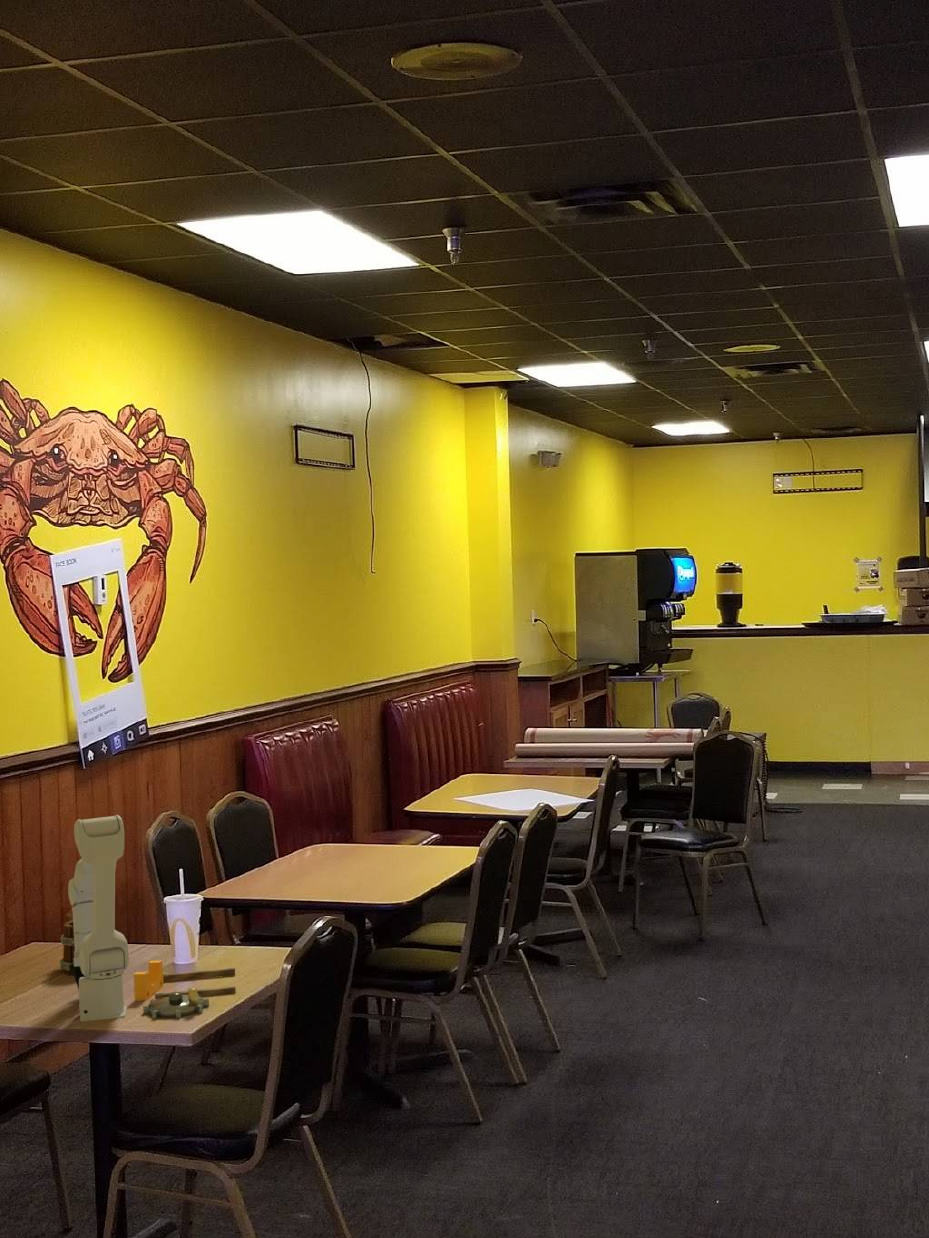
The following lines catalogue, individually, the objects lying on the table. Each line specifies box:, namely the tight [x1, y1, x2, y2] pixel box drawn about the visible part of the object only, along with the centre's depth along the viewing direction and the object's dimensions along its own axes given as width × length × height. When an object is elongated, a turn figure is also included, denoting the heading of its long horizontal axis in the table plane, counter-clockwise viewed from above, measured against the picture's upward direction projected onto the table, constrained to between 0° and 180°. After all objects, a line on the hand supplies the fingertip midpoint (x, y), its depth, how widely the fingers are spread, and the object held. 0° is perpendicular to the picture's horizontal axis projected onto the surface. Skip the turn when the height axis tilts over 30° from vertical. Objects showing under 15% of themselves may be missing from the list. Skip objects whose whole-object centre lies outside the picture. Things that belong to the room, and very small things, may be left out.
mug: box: [59, 912, 75, 976], centre depth 360 cm, size 12×14×15 cm
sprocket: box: [142, 987, 210, 1020], centre depth 318 cm, size 14×14×5 cm
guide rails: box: [154, 967, 237, 999], centre depth 336 cm, size 18×18×2 cm
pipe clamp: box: [133, 959, 164, 1001], centre depth 333 cm, size 12×4×6 cm, turn 173°
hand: (90, 989), depth 332 cm, fingers open, 7 cm apart
